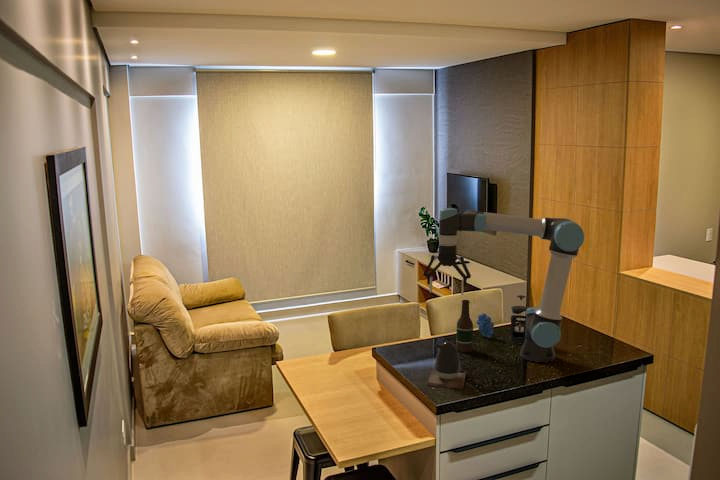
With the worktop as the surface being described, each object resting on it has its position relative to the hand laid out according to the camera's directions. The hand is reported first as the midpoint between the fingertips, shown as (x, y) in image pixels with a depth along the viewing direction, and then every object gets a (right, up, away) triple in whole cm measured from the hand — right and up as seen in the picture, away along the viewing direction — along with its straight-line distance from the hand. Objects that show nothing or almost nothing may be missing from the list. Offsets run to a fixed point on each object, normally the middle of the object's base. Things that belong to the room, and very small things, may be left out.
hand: (446, 293), depth 262 cm
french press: (+41, -27, +36) cm, 60 cm away
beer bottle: (+12, -29, +22) cm, 38 cm away
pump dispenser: (-2, -33, -15) cm, 37 cm away
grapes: (+25, -26, +42) cm, 55 cm away
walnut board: (-2, -34, -15) cm, 38 cm away
